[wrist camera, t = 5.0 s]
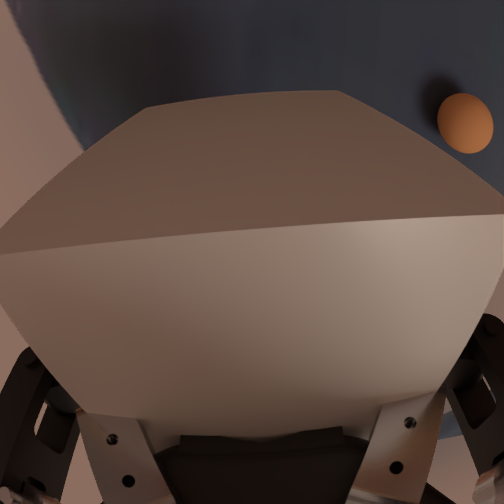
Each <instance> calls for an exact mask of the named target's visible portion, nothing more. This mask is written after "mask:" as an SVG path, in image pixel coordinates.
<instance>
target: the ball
mask: <svg viewBox="0 0 504 504" xmlns="http://www.w3.org/2000/svg"><path fill="white" fill-rule="evenodd" d="M437 123H438V128H439V131H440V133H441V135H442V137H443V139H444V140H445V141H446V142H447V144H448V145H450V146H451V147H452V148H453V149H455V150H457V151H460V152H463V153H476V152H478V151H480V150H482V149H484V148H485V147H486V146H487V145H488V143H489V142H490V140H491V138H492V134H493V120H492V117H491V114H490V112H489V110H488V108H487V107H486V106H485V104H484V103H483V102H482V101H481V100H479V99H478V98H476V97H475V96H472V95H470V94H466V93H457V94H453V95H451V96H449V97H448V98H446V99H445V100H444V101H443V103H442V104H441V106H440V108H439V111H438V116H437Z"/></svg>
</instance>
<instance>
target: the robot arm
mask: <svg viewBox="0 0 504 504" xmlns="http://www.w3.org/2000/svg"><path fill="white" fill-rule="evenodd" d="M483 376H484V377H485V379H486V380H487V382H488V384H489V386H490V388H491V390H492V392H493V394H494V396H495V399H496V403H495V401H494V399H493V397H492V395H491V393H490V391H489V389H488V387H487V385H486V384H485V382H484V380H483ZM446 397H447V399H448V401H449V403H450V405H451V408H452V410H453V412H454V414H455V417H456V419H457V421H458V424H459V426H460V428H461V431H462V433H463V436H464V438H465V441H466V443H467V446H468V448H469V451H470V453H471V456H472V458H473V461H474V463H475V466H476V469H477V472H478V474H479V479H478V480H477V483H476V485H475V491H474V493H473V497H472V498H473V501H474V502H475V503H476V504H504V323H503V322H502V321H501V320H500V319H499V318H497V317H495V316H493V315H490V314H482V316H481V318H480V320H479V322H478V324H477V326H476V328H475V330H474V332H473V333H472V335H471V337H470V339H469V341H468V342H467V344H466V346H465V348H464V349H463V351H462V353H461V354H460V356H459V358H458V359H457V361H456V363H455V364H454V366H453V368H452V369H451V371H450V372H449V374H448V375H447V377H446V379H445V380H444V382H443V383H442V385H441V386H440V388H439V389H438V390H437V391H435V392H431V393H427V394H423V395H419V396H415V397H411V398H407V399H402V400H398V401H394V402H389V403H384V404H383V405H382V407H381V409H380V411H379V413H378V414H377V416H376V419H375V422H374V425H373V428H372V431H371V434H370V436H369V439H368V440H365V439H362V438H359V437H354V436H348V435H343V430H342V426H337V427H330V428H323V429H315V430H307V431H301V432H298V433H295V434H292V435H289V436H286V437H283V438H280V439H277V440H273V441H270V442H267V443H262V444H258V443H252V442H247V441H241V440H237V439H232V438H227V437H223V436H194V435H181V436H180V445H176V446H172V447H169V448H166V449H164V450H162V451H159V452H158V453H156V452H155V449H154V447H153V445H152V443H151V441H150V438H149V436H148V434H147V430H146V429H145V428H144V427H143V426H142V425H141V423H140V422H139V421H138V420H137V419H136V418H128V417H118V416H109V415H101V414H93V413H86V412H85V411H84V410H83V409H82V408H81V407H80V405H79V404H78V403H77V402H76V401H75V400H74V399H73V398H72V397H71V396H70V395H69V394H68V392H67V391H66V390H65V389H64V388H63V387H62V386H61V385H60V383H59V382H58V381H57V380H56V379H55V378H54V376H53V375H52V374H51V373H50V372H49V370H48V369H47V368H46V367H45V365H44V364H43V363H42V362H41V360H40V359H39V358H38V357H37V355H36V354H35V353H34V351H33V350H32V349H31V347H30V346H29V347H28V348H26V349H25V350H24V351H23V352H22V353H21V354H20V355H19V357H18V359H17V361H16V363H15V365H14V367H13V368H12V370H11V373H10V374H9V377H8V379H7V380H6V383H5V385H4V387H3V389H2V391H1V393H0V504H61V503H60V500H61V496H62V492H63V488H64V484H65V481H66V477H67V473H68V470H69V466H70V463H71V460H72V456H73V452H74V450H75V446H76V443H77V440H78V436H79V433H80V432H81V436H82V439H83V443H84V446H85V450H86V453H87V456H88V459H89V462H90V466H91V468H92V471H93V474H94V477H95V480H96V483H97V486H98V489H99V491H100V494H101V496H102V499H103V502H102V503H101V504H456V503H454V502H453V501H452V500H450V499H449V498H448V497H446V496H445V495H443V494H442V493H441V492H439V491H438V490H437V489H435V488H434V487H432V486H431V485H430V484H428V483H427V482H426V481H427V477H428V474H429V471H430V467H431V463H432V460H433V456H434V452H435V448H436V443H437V440H438V435H439V431H440V426H441V421H442V416H443V411H444V405H445V399H446ZM44 402H45V403H46V404H47V405H48V406H47V408H46V411H45V413H44V416H43V418H42V421H41V424H40V426H39V429H38V432H37V435H36V436H35V432H34V426H35V423H36V420H37V418H38V415H39V412H40V410H41V408H42V405H43V403H44Z"/></svg>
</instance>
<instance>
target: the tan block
mask: <svg viewBox="0 0 504 504" xmlns="http://www.w3.org/2000/svg"><path fill="white" fill-rule="evenodd" d="M503 269H504V196H502V195H501V194H500V193H499V192H498V191H496V190H495V189H494V188H493V187H491V186H490V185H489V184H488V183H486V182H485V181H484V180H483V179H481V178H480V177H479V176H477V175H476V174H475V173H473V172H472V171H471V170H469V169H468V168H467V167H465V166H464V165H463V164H461V163H460V162H458V161H457V160H456V159H454V158H453V157H451V156H450V155H449V154H447V153H446V152H444V151H443V150H441V149H440V148H438V147H437V146H435V145H434V144H432V143H431V142H429V141H428V140H426V139H424V138H423V137H421V136H420V135H418V134H417V133H415V132H413V131H412V130H410V129H408V128H407V127H405V126H403V125H402V124H400V123H398V122H397V121H395V120H393V119H391V118H390V117H388V116H386V115H384V114H383V113H381V112H379V111H377V110H375V109H373V108H372V107H370V106H368V105H366V104H364V103H362V102H360V101H358V100H356V99H354V98H352V97H350V96H348V95H346V94H344V93H342V92H340V91H282V92H264V93H250V94H239V95H228V96H219V97H211V98H203V99H196V100H189V101H182V102H176V103H170V104H164V105H158V106H153V107H147V108H145V109H143V110H142V111H140V112H139V113H137V114H136V115H134V116H133V117H131V118H130V119H128V120H127V121H125V122H124V123H123V124H121V125H120V126H118V127H117V128H115V129H114V130H113V131H111V132H110V133H109V134H107V135H106V136H104V137H103V138H102V139H100V140H99V141H98V142H96V143H95V144H94V145H93V146H91V147H90V148H89V149H87V150H86V151H85V152H84V153H82V154H81V155H80V156H79V157H78V158H76V159H75V160H74V161H73V162H71V163H70V164H69V165H68V166H66V167H65V168H64V169H63V170H62V171H61V172H60V173H58V174H57V175H56V176H55V177H54V178H53V179H51V180H50V181H49V182H48V183H47V184H46V185H45V186H43V187H42V188H41V189H40V190H39V191H38V192H37V193H36V194H35V195H34V196H33V197H32V198H31V199H30V200H28V202H26V203H25V204H24V205H23V206H22V207H21V208H20V209H19V210H18V211H17V212H16V213H15V214H14V215H13V216H12V217H11V218H10V219H9V220H8V221H7V223H5V225H4V226H3V227H2V228H1V229H0V304H1V305H2V307H3V308H4V310H5V312H6V313H7V315H8V316H9V318H10V319H11V321H12V322H13V324H14V325H15V327H16V328H17V330H18V331H19V332H20V334H21V335H22V337H23V338H24V339H25V341H26V342H27V343H28V345H29V346H30V347H31V349H32V350H33V351H34V353H35V354H36V355H37V357H38V358H39V359H40V360H41V362H42V363H43V364H44V365H45V367H46V368H47V369H48V370H49V372H50V373H51V374H52V375H53V376H54V378H55V379H56V380H57V381H58V382H59V383H60V385H61V386H62V387H63V388H64V389H65V390H66V391H67V392H68V394H69V395H70V396H71V397H72V398H73V399H74V400H75V401H76V402H77V403H78V404H79V405H80V407H81V408H82V409H83V410H84V411H85V412H86V413H93V414H101V415H109V416H118V417H128V418H136V419H137V420H138V421H139V422H140V423H141V425H142V426H143V427H144V428H145V429H146V430H147V434H148V436H149V438H150V441H151V443H152V445H153V447H154V449H155V452H156V453H158V452H159V451H162V450H164V449H166V448H169V447H172V446H176V445H180V436H181V435H194V436H223V437H227V438H232V439H237V440H241V441H247V442H252V443H258V444H262V443H267V442H270V441H273V440H277V439H280V438H283V437H286V436H289V435H292V434H295V433H298V432H301V431H307V430H315V429H323V428H330V427H337V426H342V430H343V435H348V436H354V437H359V438H362V439H365V440H368V439H369V436H370V434H371V431H372V428H373V425H374V422H375V419H376V416H377V414H378V413H379V411H380V409H381V407H382V405H383V404H384V403H389V402H394V401H398V400H402V399H407V398H411V397H415V396H419V395H423V394H427V393H431V392H435V391H437V390H438V389H439V388H440V386H441V385H442V383H443V382H444V380H445V379H446V377H447V375H448V374H449V372H450V371H451V369H452V368H453V366H454V364H455V363H456V361H457V359H458V358H459V356H460V354H461V353H462V351H463V349H464V348H465V346H466V344H467V342H468V341H469V339H470V337H471V335H472V333H473V332H474V330H475V328H476V326H477V324H478V322H479V320H480V318H481V316H482V314H483V312H484V310H485V308H486V306H487V304H488V302H489V300H490V298H491V296H492V294H493V292H494V289H495V287H496V285H497V283H498V280H499V278H500V275H501V273H502V271H503Z"/></svg>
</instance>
